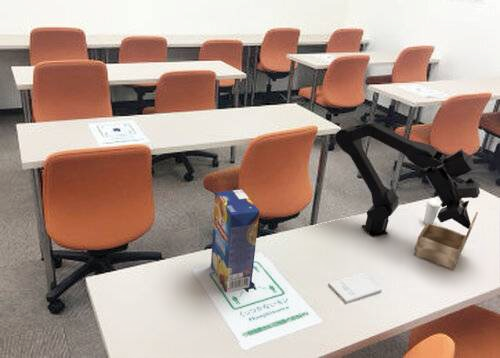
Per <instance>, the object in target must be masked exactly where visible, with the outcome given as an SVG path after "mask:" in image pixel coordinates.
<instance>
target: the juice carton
mask: <svg viewBox="0 0 500 358" xmlns="http://www.w3.org/2000/svg"><path fill="white" fill-rule="evenodd" d="M214 194H215V195H214V206H213V207H214V208H213V209H214V211H213V224H212V238H211V239H212V241H211V258H210V259H211V260H210V267H211V269H212V270H213V272H214V274H215V276H216V278H217V280H218V282H219V284H220V285H221V288H222V289H223V290H224V292H225V293H228V292H233V291H238V290H241V289H242V290H243V289H248V288H251V287H252V281H253V280H252V279H253V274H254V273H253V271H254V264H255V262H254V261H255V255H256V254H255V253H256V248H257V247H256V246H257V245H256V244H257V236H258V227H259V219H260V210H259V208H258V207H257V206H256V205H255V204H254V202H253V201H252V199H250V197H249V196H248V195H247V193H245V191H244V190H243V189H242V188H240V189H238V188H237V189H231V190H230V189H229V190H222V191H215V192H214Z"/></svg>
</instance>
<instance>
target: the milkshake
mask: <svg viewBox="0 0 500 358" xmlns="http://www.w3.org/2000/svg"><path fill="white" fill-rule="evenodd" d="M440 202H441V201H438V200H436V199H429V200H427V201H426V208H425V213H424V218H423V224H424V225H426V224H427V222H429V223H431V224H435V223H434V222H435V220H436V218H437V216H438V213H439V211H440V210H441V208H442V206H441V203H440Z"/></svg>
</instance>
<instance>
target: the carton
mask: <svg viewBox="0 0 500 358" xmlns="http://www.w3.org/2000/svg"><path fill="white" fill-rule="evenodd" d="M424 225H425V226H424V227H423V229H422V230H421V232H420V233H419V235H418V237H417V240H416V244H415V247H414V254H413V256H415V257H417V258H419V259H423V260H425V261H427V262H430V263H433V264H435V265H438V266H440V267H444V268H446V269H448V270H450V271H454V269H455V267H456V264H457V263H458V260H459V258H460V256H461V254H462V252H460V250H461V247H462V245H463V242H464V240H465V237H466V235H467V234H466V235H465V234H463V233H460V232H458V231H455V230H452V229H450V228H447V227H444V226H441V225H437V224H435V223H433V224H431V223H429V222H427V224H424Z"/></svg>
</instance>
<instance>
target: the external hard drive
mask: <svg viewBox="0 0 500 358" xmlns="http://www.w3.org/2000/svg"><path fill="white" fill-rule="evenodd" d="M327 286H328V287H329V288H330V289H331V290H332V291H333V292H334V293H336V294H337V296H338V297H339V298H340V299H341V301H342V302H343V303H345V304H350V303H352V302H355V301H356V302H357V301H359V300H361V299H365V298H368V297H371V296H374V295H376V294H380V293H382V291H383V290H382V289H383V288H381V287H380V286H379V285H378V284H377V283H375V281H373V279H371V278H370V277H369V276H368V275H367V274H366V273H364V272H361V273H360V272H359V273H357V274H353V275H350V276H346V277H345V278H340V279H338V280H334V281H330V282H327Z"/></svg>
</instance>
